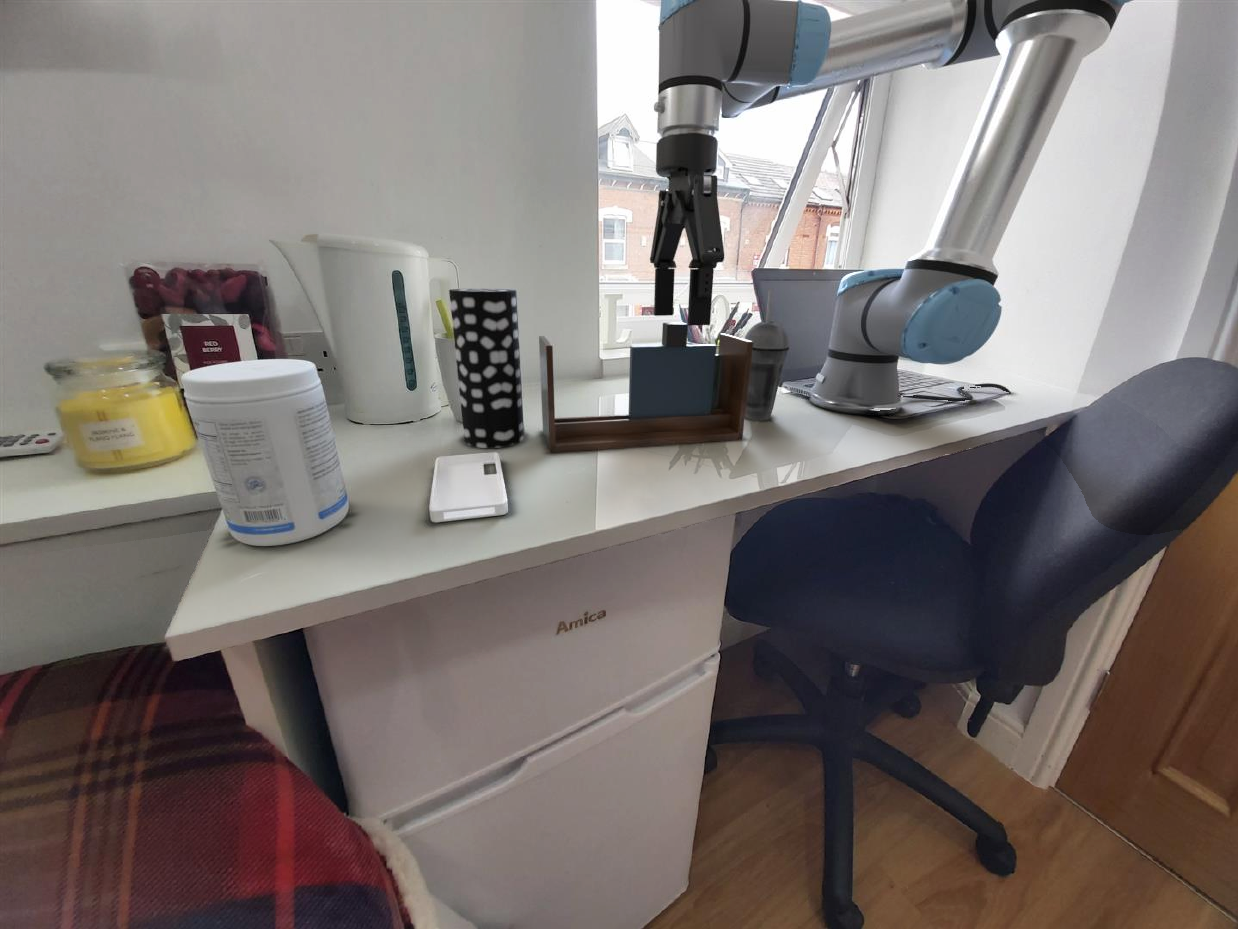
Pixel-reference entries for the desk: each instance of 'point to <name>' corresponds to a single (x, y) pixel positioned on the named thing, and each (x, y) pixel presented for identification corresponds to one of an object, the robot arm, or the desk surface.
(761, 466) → the desk surface
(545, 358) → the wooden desk organizer
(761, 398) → the beverage cup
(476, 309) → the white-spotted black cylinder
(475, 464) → the phone case
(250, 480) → the supplement tub
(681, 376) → the book
